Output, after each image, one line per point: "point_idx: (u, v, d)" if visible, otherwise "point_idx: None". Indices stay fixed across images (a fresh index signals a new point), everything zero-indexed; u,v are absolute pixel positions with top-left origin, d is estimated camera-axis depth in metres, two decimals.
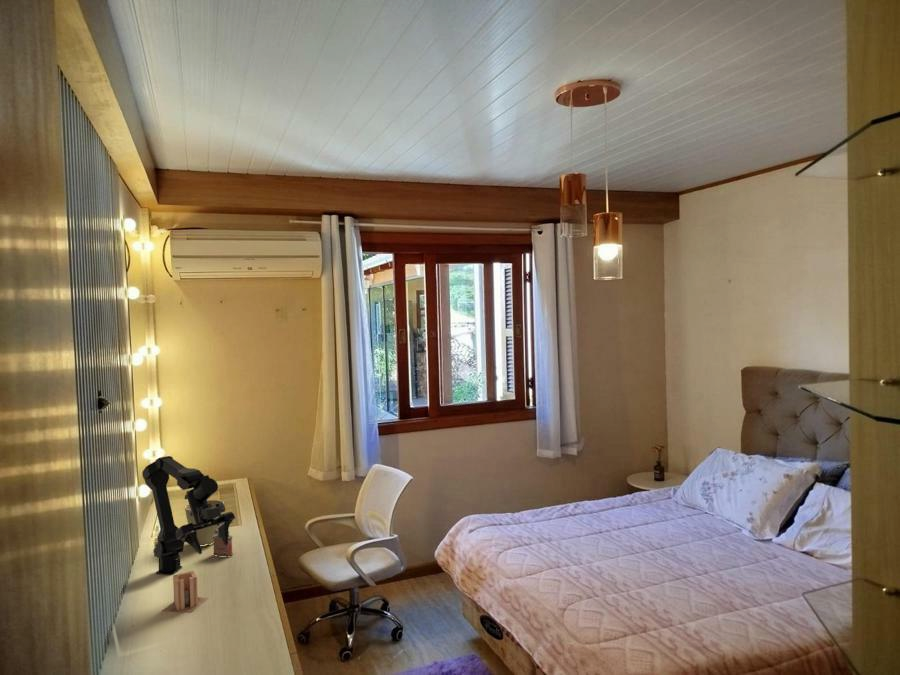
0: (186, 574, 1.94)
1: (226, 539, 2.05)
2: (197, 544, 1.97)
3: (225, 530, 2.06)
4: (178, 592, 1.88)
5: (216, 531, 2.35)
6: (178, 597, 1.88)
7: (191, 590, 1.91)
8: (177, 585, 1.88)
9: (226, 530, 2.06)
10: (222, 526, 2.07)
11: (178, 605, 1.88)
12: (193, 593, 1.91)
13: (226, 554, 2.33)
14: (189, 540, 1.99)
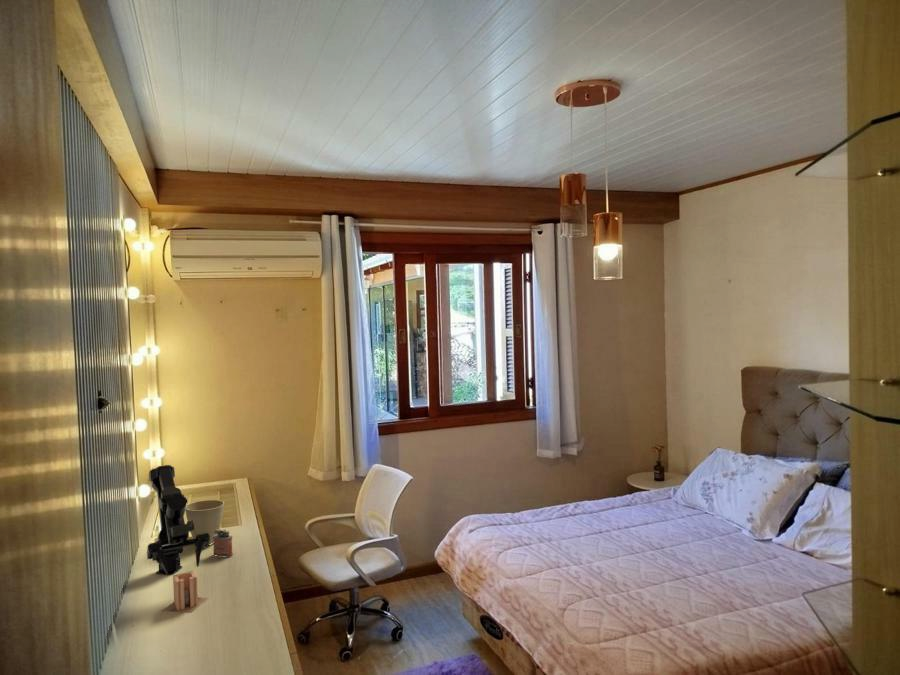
0: (186, 574, 1.94)
1: (197, 559, 1.98)
2: (163, 563, 1.93)
3: (197, 550, 2.00)
4: (178, 592, 1.88)
5: (216, 531, 2.35)
6: (178, 597, 1.88)
7: (191, 590, 1.91)
8: (177, 585, 1.88)
9: (199, 550, 2.00)
10: (196, 547, 2.01)
11: (178, 605, 1.88)
12: (193, 593, 1.91)
13: (226, 554, 2.33)
14: (159, 559, 1.96)
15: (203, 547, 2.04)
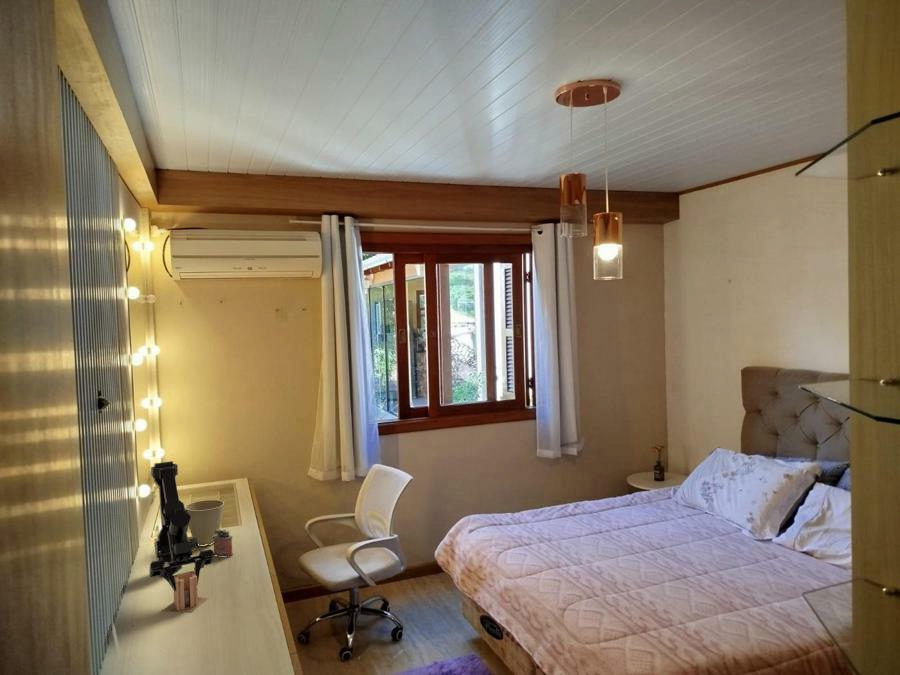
0: (186, 574, 1.94)
1: None
2: (171, 580, 1.90)
3: (196, 569, 1.95)
4: (178, 592, 1.88)
5: (216, 531, 2.35)
6: (178, 597, 1.88)
7: (191, 590, 1.91)
8: (177, 585, 1.88)
9: (197, 569, 1.95)
10: (195, 565, 1.96)
11: (178, 605, 1.88)
12: (193, 593, 1.91)
13: (226, 554, 2.33)
14: (166, 576, 1.92)
15: (202, 565, 1.99)
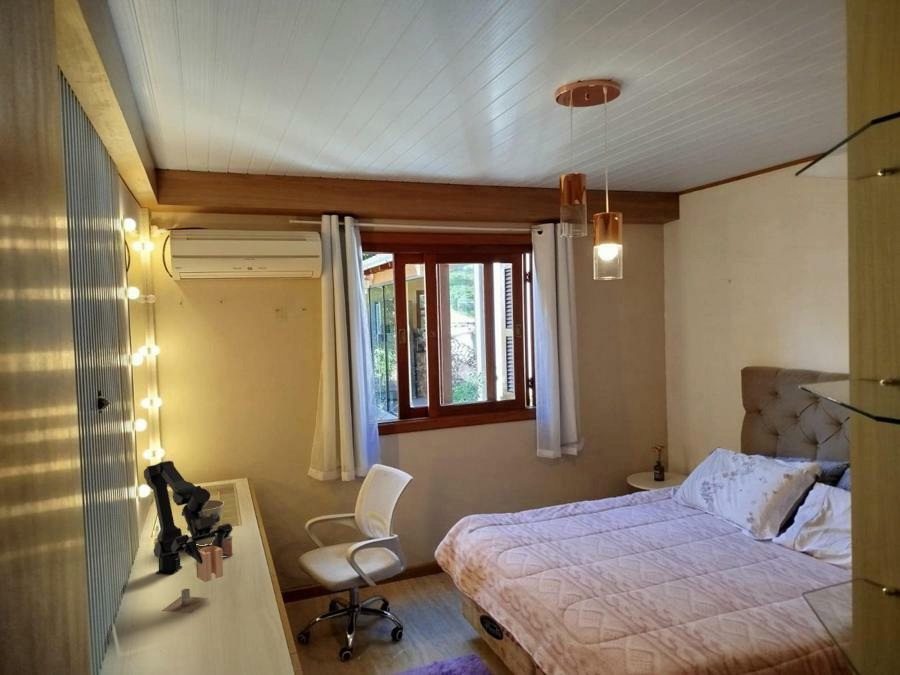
0: (208, 548, 2.00)
1: None
2: (197, 554, 1.95)
3: (218, 542, 2.01)
4: (206, 564, 1.94)
5: None
6: (206, 569, 1.94)
7: (217, 562, 1.97)
8: (205, 557, 1.94)
9: (219, 542, 2.01)
10: (215, 539, 2.02)
11: (206, 577, 1.94)
12: (219, 565, 1.97)
13: (226, 554, 2.33)
14: (190, 551, 1.97)
15: None
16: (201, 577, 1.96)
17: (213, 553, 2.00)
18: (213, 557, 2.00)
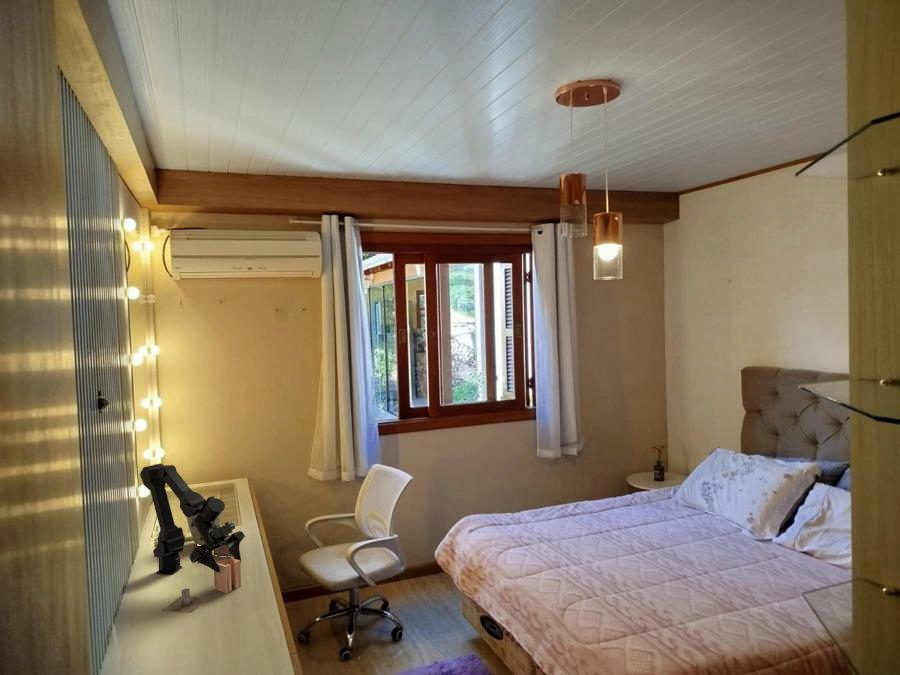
0: (225, 561, 2.06)
1: (239, 557, 2.07)
2: (214, 563, 2.00)
3: (236, 548, 2.08)
4: (227, 576, 2.00)
5: None
6: (227, 581, 2.00)
7: (236, 573, 2.03)
8: (226, 570, 2.00)
9: (237, 548, 2.09)
10: (232, 546, 2.09)
11: (227, 588, 2.00)
12: (238, 576, 2.04)
13: (226, 554, 2.33)
14: (205, 561, 2.01)
15: None
16: (221, 589, 2.01)
17: None
18: None
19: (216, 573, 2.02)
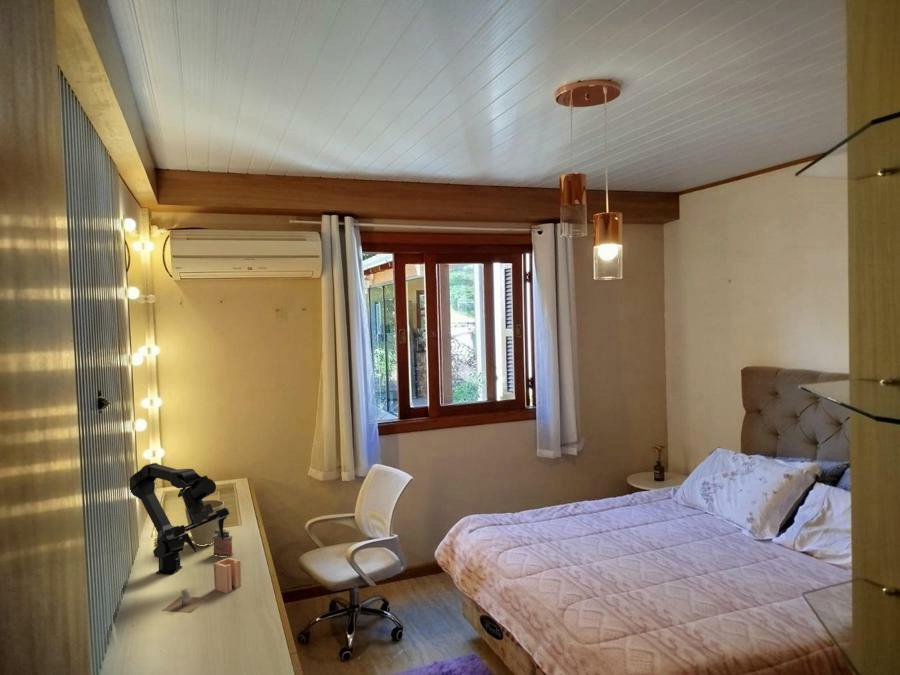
0: (225, 561, 2.06)
1: (221, 535, 2.12)
2: (190, 544, 2.07)
3: (220, 526, 2.13)
4: (227, 576, 2.00)
5: (216, 531, 2.35)
6: (227, 581, 2.00)
7: (236, 573, 2.03)
8: (226, 570, 2.00)
9: (221, 526, 2.13)
10: (217, 522, 2.14)
11: (227, 588, 2.00)
12: (238, 576, 2.04)
13: (226, 554, 2.33)
14: None
15: (224, 519, 2.16)
16: (221, 589, 2.01)
17: None
18: None
19: (216, 573, 2.02)
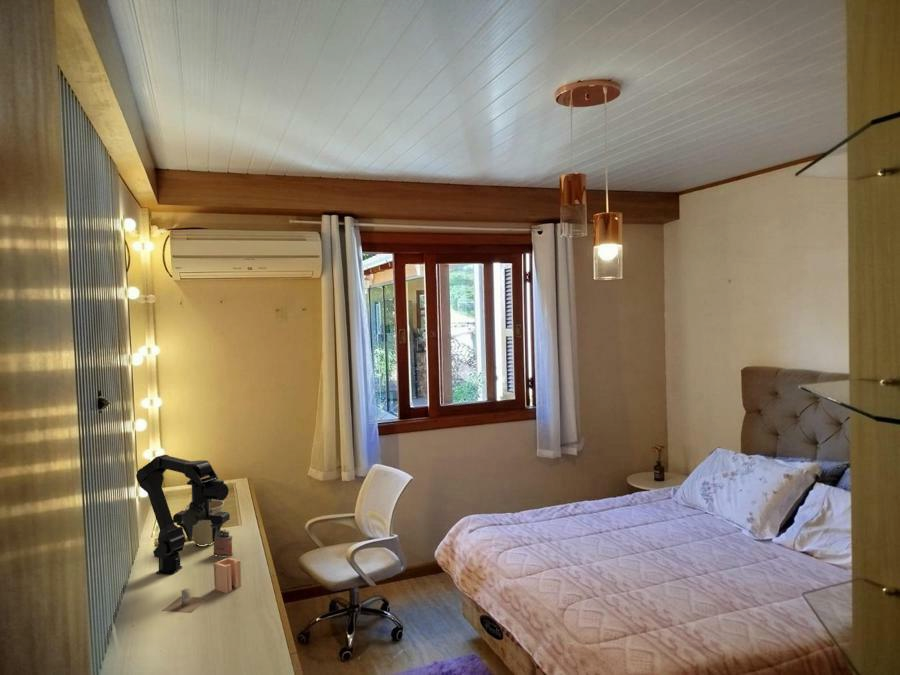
0: (225, 561, 2.06)
1: (213, 537, 2.12)
2: (186, 533, 2.14)
3: (213, 530, 2.12)
4: (227, 576, 2.00)
5: None
6: (227, 581, 2.00)
7: (236, 573, 2.03)
8: (226, 570, 2.00)
9: (213, 530, 2.12)
10: None
11: (227, 588, 2.00)
12: (238, 576, 2.04)
13: (226, 554, 2.33)
14: None
15: None
16: (221, 589, 2.01)
17: None
18: None
19: (216, 573, 2.02)
